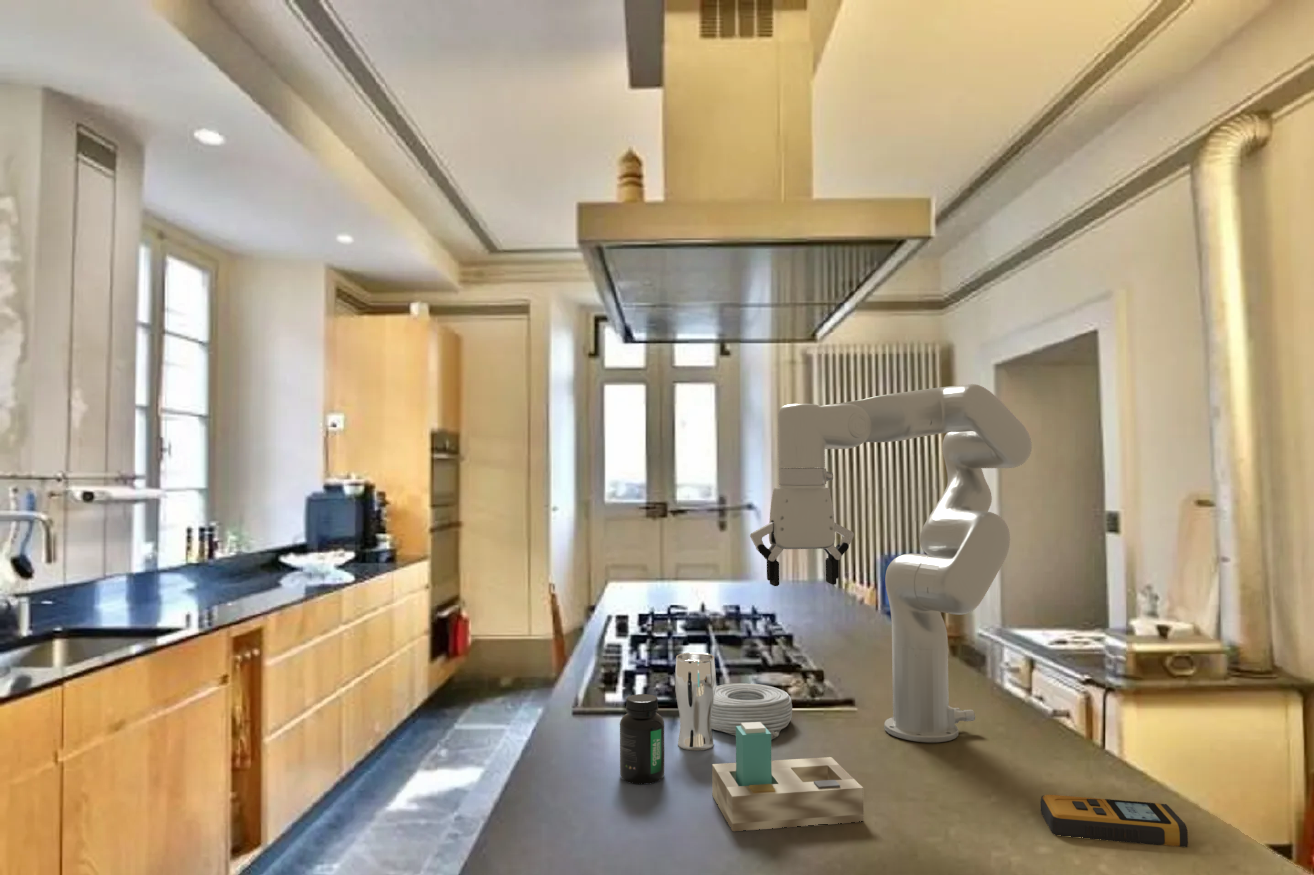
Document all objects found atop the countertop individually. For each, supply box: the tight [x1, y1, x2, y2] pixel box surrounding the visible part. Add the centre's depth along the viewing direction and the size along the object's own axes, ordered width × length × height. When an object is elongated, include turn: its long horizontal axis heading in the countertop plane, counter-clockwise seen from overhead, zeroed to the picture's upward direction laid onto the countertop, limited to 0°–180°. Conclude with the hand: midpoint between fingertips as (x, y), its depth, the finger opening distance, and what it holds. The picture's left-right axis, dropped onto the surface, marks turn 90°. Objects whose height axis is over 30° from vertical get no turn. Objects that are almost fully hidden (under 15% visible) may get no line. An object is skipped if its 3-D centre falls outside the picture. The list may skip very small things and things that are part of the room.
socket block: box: [711, 756, 865, 832], centre depth 116 cm, size 18×12×5 cm, turn 99°
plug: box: [735, 722, 772, 786], centre depth 116 cm, size 4×4×11 cm
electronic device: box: [1040, 794, 1189, 848], centre depth 109 cm, size 8×16×3 cm, turn 77°
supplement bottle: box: [619, 693, 665, 785], centre depth 128 cm, size 7×7×12 cm
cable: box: [711, 682, 793, 741], centre depth 155 cm, size 18×18×6 cm
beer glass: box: [674, 652, 717, 752], centre depth 143 cm, size 7×7×15 cm
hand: (802, 584), depth 136 cm, fingers open, 9 cm apart
